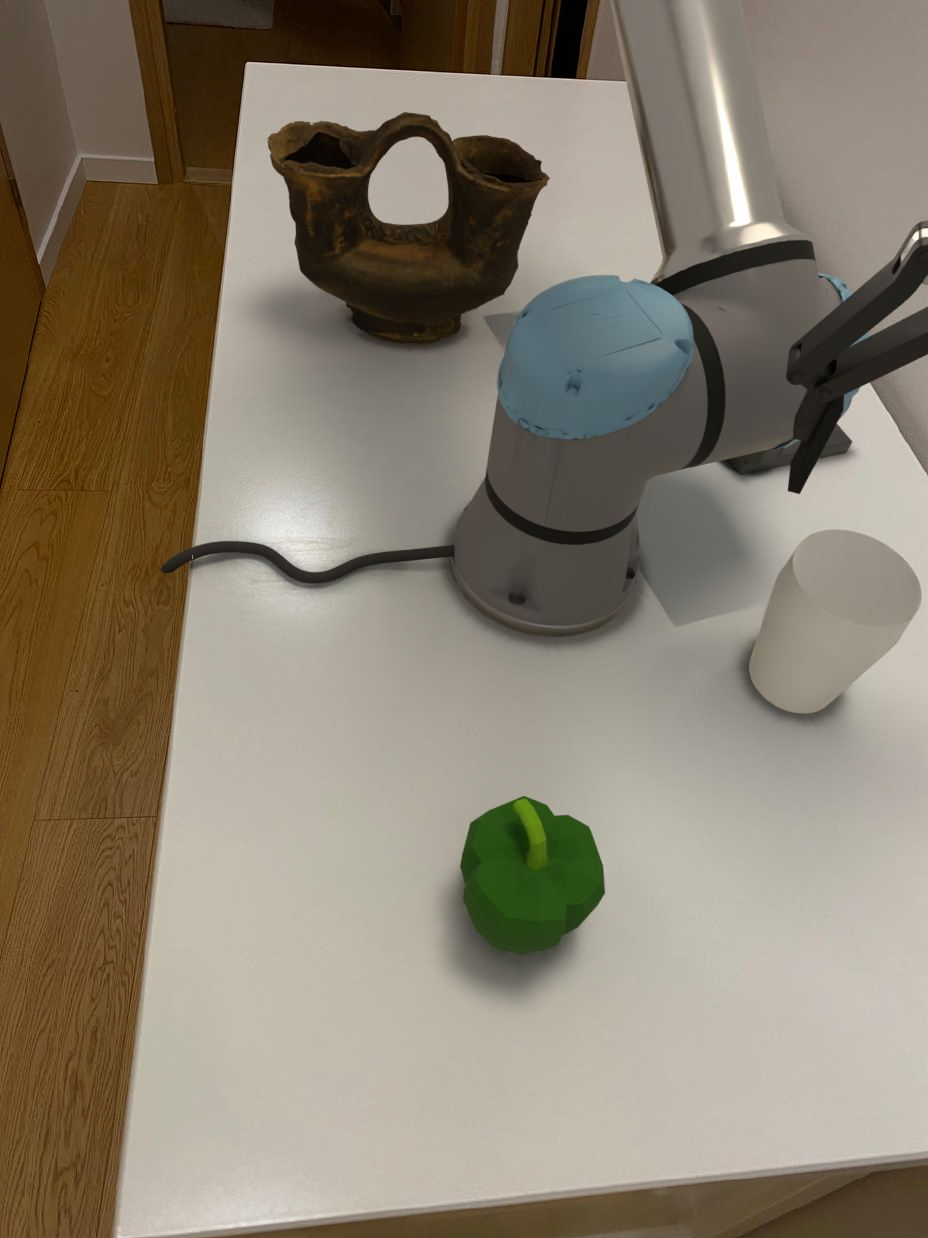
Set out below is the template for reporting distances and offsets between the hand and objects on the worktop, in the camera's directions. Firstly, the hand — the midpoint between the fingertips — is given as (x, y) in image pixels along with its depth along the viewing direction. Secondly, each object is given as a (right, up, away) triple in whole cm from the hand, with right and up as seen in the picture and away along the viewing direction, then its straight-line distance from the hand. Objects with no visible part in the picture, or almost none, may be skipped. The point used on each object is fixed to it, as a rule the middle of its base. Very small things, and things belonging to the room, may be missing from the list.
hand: (902, 507), depth 58 cm
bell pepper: (-23, -25, +2) cm, 34 cm away
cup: (-2, -12, +15) cm, 19 cm away
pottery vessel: (-33, +24, +38) cm, 56 cm away
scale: (+1, +13, +34) cm, 36 cm away
